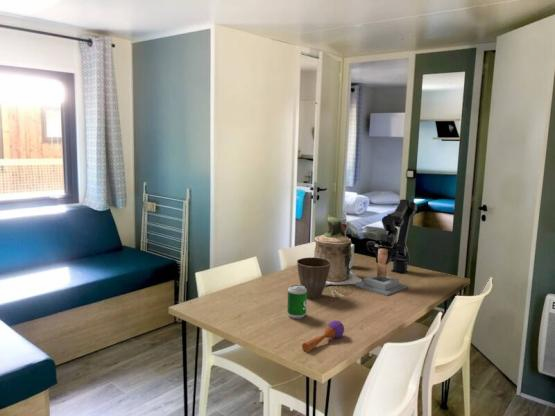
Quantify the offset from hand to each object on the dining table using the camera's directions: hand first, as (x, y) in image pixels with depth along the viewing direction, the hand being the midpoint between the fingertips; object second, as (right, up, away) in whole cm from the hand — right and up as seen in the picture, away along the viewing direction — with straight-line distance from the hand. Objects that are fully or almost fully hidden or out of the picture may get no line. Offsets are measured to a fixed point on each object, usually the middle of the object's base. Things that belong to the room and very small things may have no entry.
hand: (381, 263), depth 216 cm
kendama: (-33, -21, -58) cm, 70 cm away
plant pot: (-34, -14, -12) cm, 38 cm away
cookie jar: (-22, -10, +16) cm, 29 cm away
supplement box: (-12, -7, +37) cm, 39 cm away
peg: (+1, -6, +2) cm, 7 cm away
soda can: (-42, -17, -35) cm, 57 cm away
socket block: (0, -12, +3) cm, 12 cm away
